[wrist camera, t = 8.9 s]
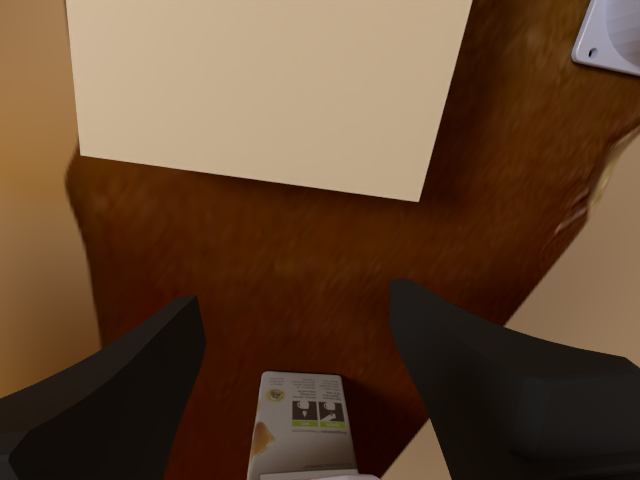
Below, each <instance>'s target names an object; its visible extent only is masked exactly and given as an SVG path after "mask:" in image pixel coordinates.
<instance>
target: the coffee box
mask: <svg viewBox="0 0 640 480" xmlns="http://www.w3.org/2000/svg"><path fill="white" fill-rule="evenodd" d="M344 473H350V474H358V469H357V463H356V458H355V452H354V447H353V441H352V436H351V431H350V425H349V419H348V414H347V408H346V403H345V398H344V392H343V386H342V380H341V377H340V376H338V375H324V374H307V373H290V372H274V371H267V372H264V373H263V375H262V379H261V386H260V392H259V399H258V406H257V412H256V419H255V425H254V432H253V439H252V446H251V453H250V460H249V467H248V475H247V480H293V479H302V478H310V477H319V476H327V475H336V474H344Z"/></svg>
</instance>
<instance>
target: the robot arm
mask: <svg viewBox="0 0 640 480" xmlns="http://www.w3.org/2000/svg"><path fill="white" fill-rule="evenodd" d="M590 50H591V52H592V54H591V57H590V58H589V51H590ZM571 56H572V60H573V61H574V62H576V63H580V64H585V65H590V66H595V67H599V68H604V69H609V70H613V71H618V72H623V73H628V74H632V75H637V76H640V0H591V2H590V4H589V7H588V10H587V13H586V15H585V18H584V21H583V23H582V26H581V29H580V31H579V34H578V37H577V39H576V42H575V45H574V47H573V50H572V54H571ZM389 326H390V329H391V332H392V335H393V339H394V341H395V344H396V347H397V350H398V352H399V354H400V356H401V358H402V360H403V362H404V364H405V366H406V368H407V370H408V372H409V374H410V376H411V378H412V380H413V382H414V384H415V386H416V388H417V390H418V392H419V394H420V396H421V398H422V401H423V403H424V405H425V407H426V410H427V412H428V414H429V417H430V420H431V422H432V425H433V428H434V431H435V433H436V436H437V439H438V441H439V444H440V447H441V450H442V453H443V456H444V458H445V461H446V464H447V467H448V470H449V473H450V476H451V479H452V480H640V368H639V367H638V366H636V365H635V364H633V363H632V362H631V361H629V360H628V359H627V358H625V357H621V356H616V355H611V354H605V353H600V352H594V351H589V350H584V349H579V348H574V347H570V346H566V345H562V344H558V343H554V342H550V341H546V340H542V339H539V338H536V337H532V336H529V335H526V334H523V333H520V332H517V331H514V330H511V329H508V328H505V327H503V326H500V325H497V324H495V323H493V322H490V321H488V320H485V319H483V318H480V317H478V316H476V315H474V314H472V313H470V312H468V311H465V310H463V309H461V308H459V307H457V306H456V305H454V304H452V303H450V302H448V301H446V300H444V299H443V298H441V297H439V296H437V295H436V294H434V293H432V292H430V291H429V290H427V289H425V288H424V287H422V286H420V285H418V284H417V283H415V282H413V281H411V280H409V279H407V278H406V279H394V280H391V291H390V320H389ZM205 346H206V338H205V333H204V328H203V324H202V319H201V314H200V310H199V305H198V300H197V296H188V297H179V298H177V299H176V300H174V301H172V302H171V303H169V304H168V305H167V306H165V307H164V308H162V309H161V310H160V311H158V312H157V313H155V314H154V315H153V316H151V317H150V318H148V319H147V320H146V321H144V322H143V323H141V324H140V325H139V326H137V327H136V328H134V329H133V330H131V331H130V332H128V333H127V334H125V335H124V336H122V337H121V338H119V339H117V340H116V341H114V342H113V343H111V344H110V345H108V346H107V347H105V348H103V349H102V350H100V351H98V352H97V353H95V354H93V355H91V356H89V357H88V358H86V359H84V360H82V361H81V362H79V363H77V364H75V365H73V366H71V367H69V368H67V369H65V370H63V371H61V372H59V373H57V374H55V375H53V376H50V377H48V378H46V379H45V380H42V381H40V382H38V383H36V384H34V385H31V386H29V387H27V388H24V389H22V390H20V391H17V392H15V393H13V394H10V395H8V396H5V397H3V398H1V399H0V480H163V478H164V474H165V470H166V466H167V462H168V459H169V455H170V451H171V448H172V444H173V440H174V437H175V434H176V431H177V428H178V425H179V423H180V420H181V418H182V415H183V412H184V410H185V407H186V405H187V402H188V399H189V397H190V394H191V392H192V389H193V386H194V384H195V381H196V378H197V376H198V373H199V370H200V368H201V364H202V360H203V356H204V351H205ZM293 480H381V479H379V478H377V477H376V476H374V475H365V474H350V473H344V474H336V475H327V476H319V477H310V478H302V479H293Z"/></svg>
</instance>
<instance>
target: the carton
mask: <svg viewBox="0 0 640 480" xmlns="http://www.w3.org/2000/svg"><path fill="white" fill-rule="evenodd" d="M471 4H472V0H66V5H67V16H68V26H69V37H70V47H71V58H72V68H73V79H74V89H75V100H76V110H77V121H78V131H79V142H80V152H81V155H83V156H90V157H97V158H104V159H112V160H119V161H126V162H133V163H140V164H148V165H155V166H162V167H169V168H176V169H184V170H191V171H198V172H205V173H213V174H220V175H227V176H234V177H241V178H249V179H256V180H263V181H270V182H277V183H285V184H292V185H299V186H306V187H314V188H321V189H328V190H335V191H342V192H350V193H357V194H364V195H371V196H379V197H386V198H393V199H400V200H407V201H415V202H419V199H420V196H421V192H422V188H423V184H424V181H425V177H426V173H427V169H428V166H429V162H430V158H431V154H432V151H433V147H434V143H435V139H436V135H437V132H438V128H439V124H440V120H441V117H442V113H443V109H444V105H445V102H446V98H447V94H448V90H449V87H450V83H451V79H452V75H453V72H454V68H455V64H456V60H457V57H458V53H459V49H460V45H461V42H462V38H463V34H464V30H465V27H466V23H467V19H468V15H469V12H470V8H471Z"/></svg>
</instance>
